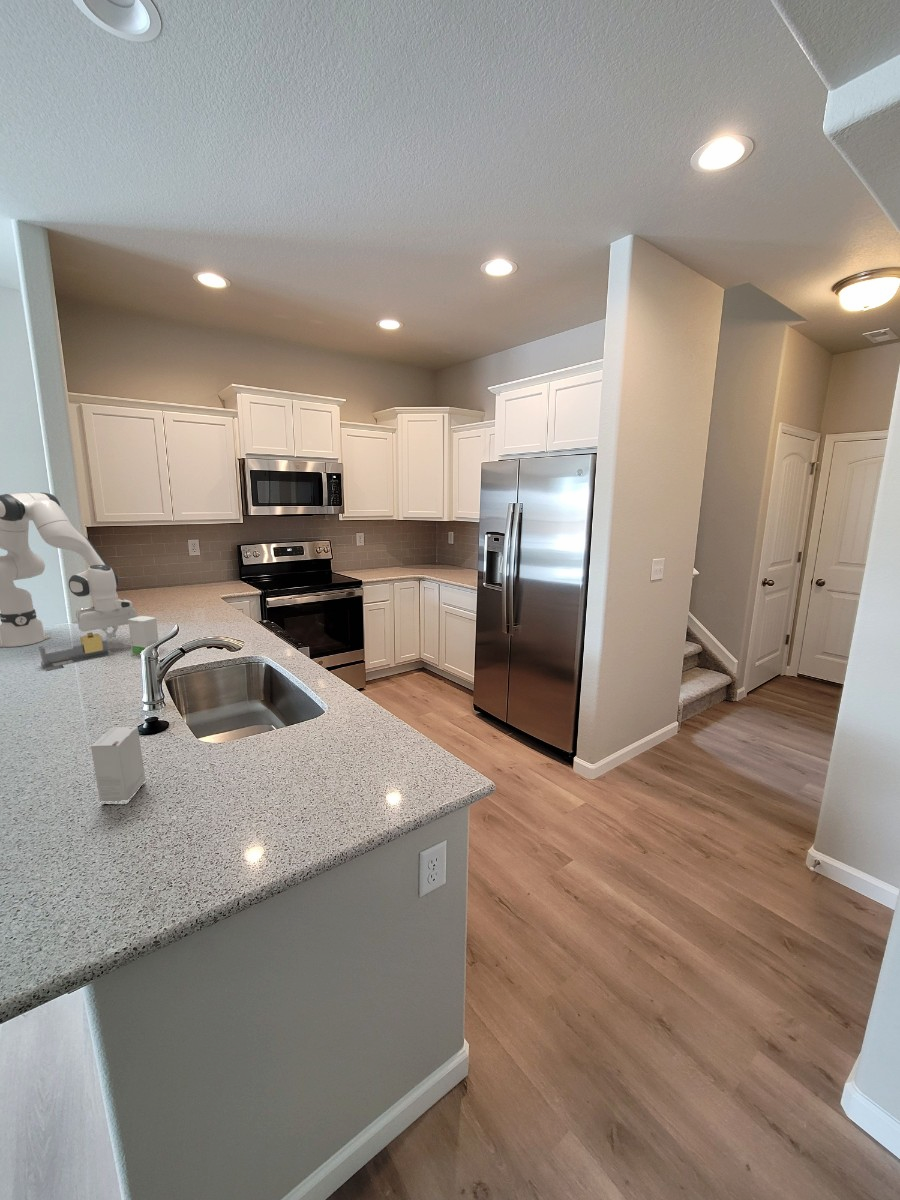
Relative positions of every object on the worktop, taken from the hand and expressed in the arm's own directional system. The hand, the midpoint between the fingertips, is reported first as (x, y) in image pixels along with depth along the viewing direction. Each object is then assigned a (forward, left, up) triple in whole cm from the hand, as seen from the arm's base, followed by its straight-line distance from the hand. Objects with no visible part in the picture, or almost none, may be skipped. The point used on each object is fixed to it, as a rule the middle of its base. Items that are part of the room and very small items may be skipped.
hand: (111, 637), depth 202 cm
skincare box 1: (+115, -26, -7) cm, 118 cm away
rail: (0, -12, -7) cm, 14 cm away
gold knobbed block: (0, -7, -4) cm, 8 cm away
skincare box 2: (+11, +9, -7) cm, 16 cm away
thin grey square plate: (-9, +2, -7) cm, 12 cm away
